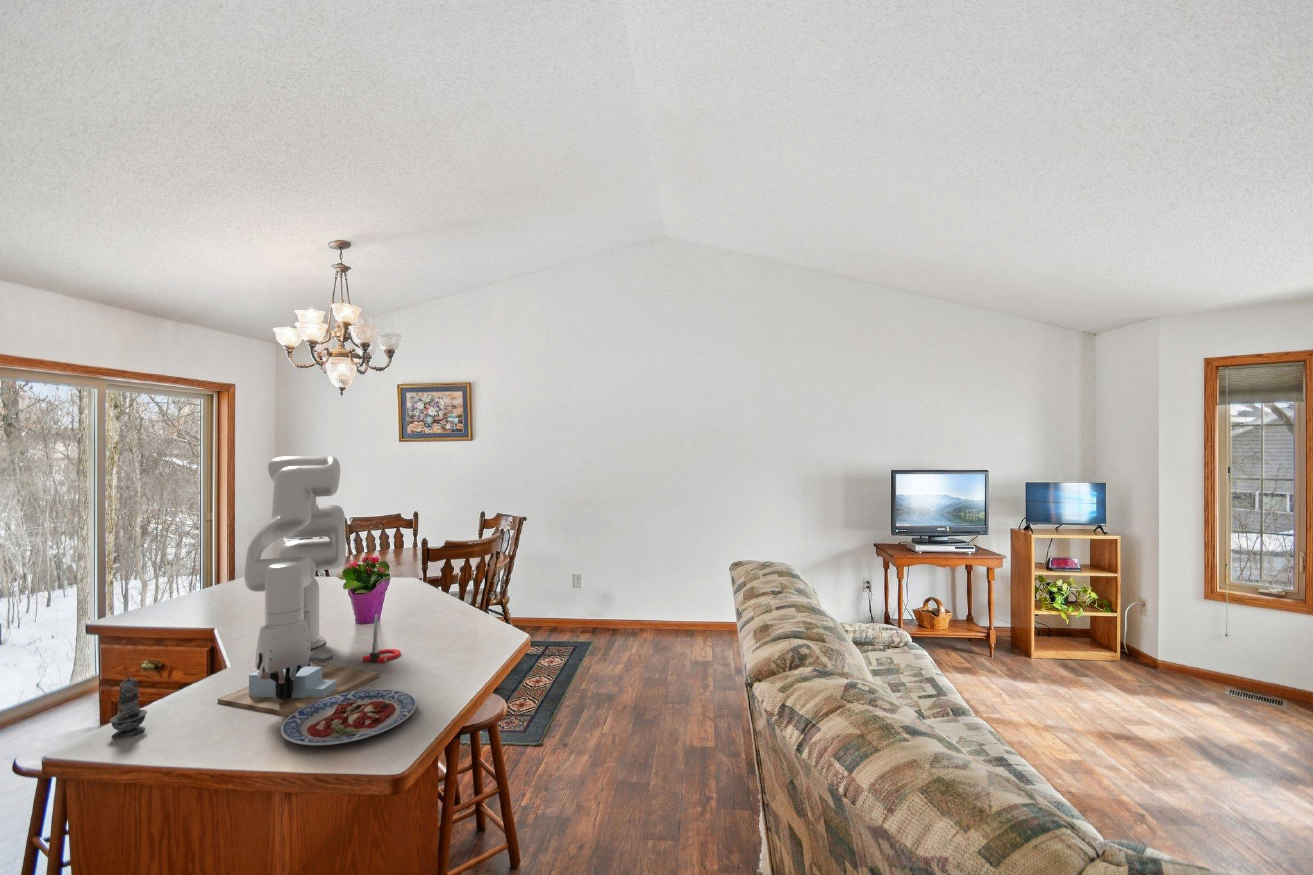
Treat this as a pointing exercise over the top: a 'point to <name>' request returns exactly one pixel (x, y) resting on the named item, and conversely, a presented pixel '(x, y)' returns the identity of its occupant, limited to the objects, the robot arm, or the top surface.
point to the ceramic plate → (348, 717)
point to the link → (294, 684)
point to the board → (344, 683)
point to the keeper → (319, 657)
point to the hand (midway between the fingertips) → (284, 698)
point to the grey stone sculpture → (128, 711)
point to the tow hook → (375, 653)
